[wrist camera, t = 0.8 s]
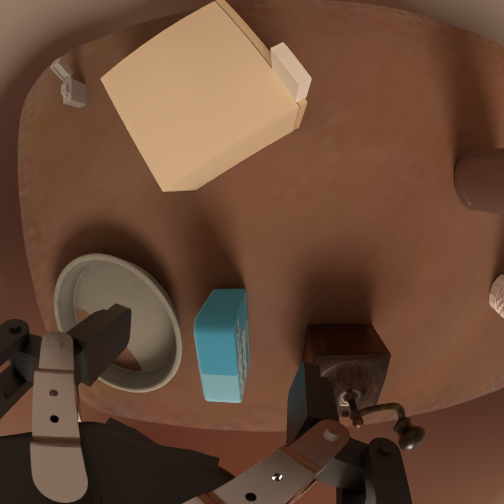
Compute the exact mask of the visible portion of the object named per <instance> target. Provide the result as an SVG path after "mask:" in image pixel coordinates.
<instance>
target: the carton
mask: <svg viewBox="0 0 504 504" xmlns="http://www.w3.org/2000/svg"><path fill="white" fill-rule="evenodd" d="M101 81H102V83H103V85H104V87H105V89H106V90H107V92H108V94H109V96H110V98H111V100H112V102H113V104H114V106H115V108H116V109H117V111H118V113H119V115H120V117H121V119H122V120H123V122H124V124H125V126H126V128H127V130H128V131H129V133H130V135H131V137H132V139H133V140H134V142H135V144H136V146H137V148H138V149H139V151H140V153H141V155H142V156H143V158H144V160H145V162H146V163H147V165H148V167H149V169H150V170H151V172H152V174H153V176H154V177H155V179H156V181H157V182H158V184H159V186H160V188H161V189H162V191H163V192H166V191H185V190H197V189H199V188H200V187H202V186H203V185H205V184H206V183H208V182H209V181H211V180H212V179H214V178H215V177H217V176H219V175H220V174H222V173H223V172H225V171H226V170H228V169H230V168H231V167H233V166H234V165H236V164H238V163H239V162H241V161H242V160H244V159H246V158H247V157H249V156H251V155H252V154H254V153H256V152H257V151H259V150H261V149H262V148H264V147H266V146H268V145H269V144H271V143H273V142H274V141H276V140H278V139H280V138H281V137H283V136H285V135H287V134H288V133H290V132H292V131H293V130H294V126H295V122H296V118H297V113H298V109H299V106H298V104H297V103H295V102H294V100H293V99H292V97H291V96H290V94H289V93H288V92H287V90H286V89H285V87H284V86H283V85H282V83H281V82H280V80H279V79H278V78H277V76H276V75H275V74H274V72H273V71H272V68H271V67H270V66H269V64H268V63H267V62H266V60H265V59H264V58H263V56H262V55H261V54H260V53H259V51H258V50H257V49H256V48H255V46H254V45H253V44H252V43H251V42H250V40H249V39H248V38H247V37H246V36H245V34H244V33H243V32H242V31H241V30H240V29H239V27H238V26H237V25H236V24H235V23H234V22H233V21H232V19H231V18H230V17H229V16H228V15H227V14H226V13H225V12H224V11H223V9H222V8H221V7H220V6H219V5H218V4H217V3H216V2H215V1H214V2H212V3H210V4H208V5H206V6H204V7H202V8H201V9H199V10H197V11H195V12H193V13H192V14H190V15H188V16H186V17H185V18H183V19H181V20H180V21H178V22H176V23H175V24H173V25H172V26H170V27H168V28H167V29H165V30H164V31H162V32H161V33H159V34H158V35H156V36H155V37H153V38H152V39H150V40H149V41H148V42H146V43H145V44H143V45H142V46H141V47H139V48H138V49H137V50H135V51H134V52H133V53H131V54H130V55H129V56H127V57H126V58H125V59H123V60H122V61H121V62H120V63H118V64H117V65H116V66H115V67H114V68H112V69H111V70H110V71H109V72H108V73H106V74H105V75H104V76H103V77H102V78H101Z"/></svg>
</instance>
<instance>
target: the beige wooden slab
mask: <svg viewBox="0 0 504 504" xmlns="http://www.w3.org/2000/svg"><path fill="white" fill-rule="evenodd" d="M216 3H217V4H218V5H219V6H220V7H221V8H222V9H223V11H224V12H225V13H226V14H227V15H228V16H229V17H230V18H231V19H232V21H233V22H234V23H235V24H236V25H237V26H238V27H239V29H240V30H241V31H242V32H243V33H244V34H245V36H246V37H247V38H248V39H249V40H250V42H251V43H252V44H253V45H254V46H255V48H256V49H257V50H258V51H259V53H260V54H261V55H262V56H263V58H264V59H265V60H266V62H267V63H268V64H269V66H270V67H271V68H272V71H273V72H274V74H275V75H276V76H277V78H278V79H279V80H280V82H281V83H282V85H283V86H284V87H285V89H286V90H287V92H288V93H289V94H290V96H291V97H292V99H293V100H294V102H295V103H297V104H298V106H299V109H298V113H297V118H296V122H295V126H294V130H295V129H297V128H299V126H300V123H301V120H302V117H303V114H304V111H305V108H306V105H307V101H306V100H305V97H306V96H307V93H308V89H309V86H310V83H311V79H312V78H311V77H310V76H309V74H308V73H307V72H306V70H305V69H304V68H303V66H302V65H301V64H300V62H299V61H298V60H297V58H296V57H295V56H294V55H293V53H292V52H291V51H290V50H289V48H288V47H287V46H286V45H285V44H284V42H282V43H280V44H278V45H276V46H274V47H272V48H270V49H271V53H270V51H269V50H268V49H267V48H266V46H265V45H264V44H263V43H262V42H261V40H260V39H259V38H258V37H257V36H256V34H255V33H254V32H253V31H252V30H251V29H250V27H249V26H248V25H247V24H246V23H245V22H244V21H243V19H242V18H241V17H240V16H239V15H238V14H237V13H236V12H235V11H234V10H233V9H232V7H231V6H230V5H229V4H228V3H227V2H226V1H225V0H216Z"/></svg>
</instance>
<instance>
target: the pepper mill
mask: <svg viewBox="0 0 504 504" xmlns="http://www.w3.org/2000/svg"><path fill="white" fill-rule="evenodd" d="M390 357H391V354H390V352H389V351H388V349H387V348H386V346H385V344H384V343H383V341H382V340H381V338H380V337H379V335H378V334H377V332H376V331H375V329H374V327H373V326H372V325H366V324H308V328H307V333H306V338H305V347H304V355H303V361H304V362H309V363H313V364H318V365H319V367H320V374H321V376H322V377H327V378H328V379H329V381H330V382H331V383H332V385H333V389H334V395H335V401H336V405H337V411H338V416H339V417H344V418H347V417H348V416H349V415H350V416H349V418H350V420H352V421H353V422H352V425H353V426H354V427H356V428H359V427H361V426H362V425H363V422H364V421H363V419H362V416H365V415H367V414H371V413H373V412H377V411H381V410H389V409H391V410H395V411H397V414H398V417H399V420H398V421H397V423H396V425H395V426H394V427H393V431H394V433H397V434H398V435H399V441H398V444H399V447H400V449H401V450H403V451H411V450H414V449H416V448H417V447H419V446H420V445H421V443H422V442H423V441H424V439H425V430H424V429H423V428H422V427H419V426H414V425H412V424H411V420H410V418H409V417H405V411H404V409H403V407H402V406H401V405H400V404H399V403H388V404H381V405H376V404H377V401H378V398H379V396H380V393H381V390H382V387H383V384H384V381H385V377H386V374H387V370H388V366H389V361H390Z"/></svg>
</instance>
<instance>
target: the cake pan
mask: <svg viewBox="0 0 504 504" xmlns="http://www.w3.org/2000/svg"><path fill="white" fill-rule="evenodd" d="M116 303H117V304H120V305H122V306H125V307H127V308H130V309H131V311H132V315H131V329H130V340H129V343H128V345H127V348H128V349H129V350H130V352H132V354H133V356H134V357H135V359H136V360H137V362H138V363H139V365H140V367H141V371H133V370H127V369H124V368H121V367H119V366H117V365H115V364H113V363H111V364H110V366H109V367H108V368H107V369H106V370H105V371H104V372H103V373H102V374H101V375H100V376H99V377H98V379H99V380H101V381H102V382H104V383H106V384H108V385H110V386H112V387H114V388H117V389H120V390H124V391H129V392H148V391H152V390H155V389H158V388H160V387H162V386H163V385H165V384H166V383H167V382H169V381H170V380H171V379H172V377H173V376H174V375H175V373H176V371H177V369H178V367H179V364H180V361H181V356H182V339H181V334H180V327H179V321H178V317H177V313H176V310H175V307H174V305H173V303H172V301H171V299H170V298H169V296H168V294H167V293H166V291H165V290H164V288H163V287H162V286H161V285H160V283H159V282H158V281H157V280H156V279H155V278H154V277H153V276H151V275H150V274H149V273H148V272H147V271H145V270H144V269H142V268H141V267H139V266H137V265H135V264H133V263H131V262H128V261H125V260H122V259H120V258H117V257H114V256H112V255H107V254H100V253H95V254H94V253H92V254H86V255H83V256H80V257H78V258H76V259H74V260H72V261H71V262H70V263H69V264H68V265H67V266H66V267H65V268H64V269H63V270H62V272H61V274H60V275H59V277H58V280H57V283H56V287H55V292H54V312H55V318H56V321H57V325H58V328H59V331H60V332H64V333H66V332H67V331H69V330H70V329H72V328H73V327H74V326H76V325H77V324H78V323H79V322H78V319H77V315H76V310H75V308H80V309H83V310H84V311H86V312H88V313H89V315H91V314H92V313H94V312H96V311H99V310H102V309H105V310H107V309H109V308H110V307H111V306H113V305H114V304H116Z"/></svg>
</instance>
